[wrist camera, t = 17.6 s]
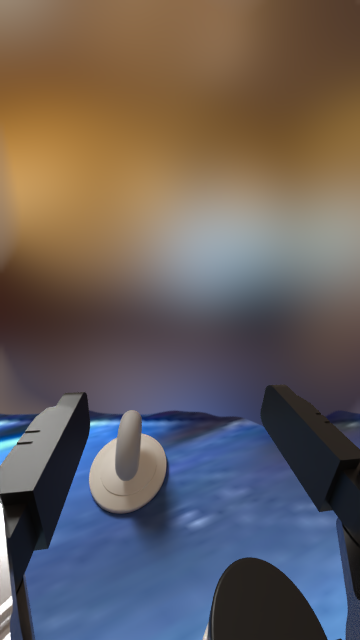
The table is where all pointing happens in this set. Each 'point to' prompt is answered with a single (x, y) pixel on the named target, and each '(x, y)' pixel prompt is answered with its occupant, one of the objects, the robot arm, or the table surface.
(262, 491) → the table surface
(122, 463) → the donut
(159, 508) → the table surface
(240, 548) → the table surface
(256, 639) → the jar
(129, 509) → the plate
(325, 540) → the table surface
